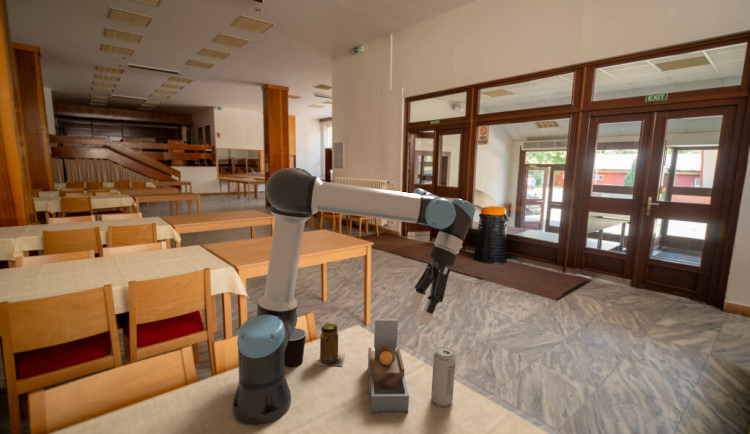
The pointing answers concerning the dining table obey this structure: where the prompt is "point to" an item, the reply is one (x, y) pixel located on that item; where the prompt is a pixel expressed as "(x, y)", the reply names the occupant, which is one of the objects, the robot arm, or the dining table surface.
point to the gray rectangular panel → (385, 336)
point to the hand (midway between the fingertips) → (416, 318)
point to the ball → (385, 358)
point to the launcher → (385, 371)
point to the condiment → (330, 347)
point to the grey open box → (389, 399)
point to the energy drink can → (443, 376)
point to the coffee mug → (295, 348)
